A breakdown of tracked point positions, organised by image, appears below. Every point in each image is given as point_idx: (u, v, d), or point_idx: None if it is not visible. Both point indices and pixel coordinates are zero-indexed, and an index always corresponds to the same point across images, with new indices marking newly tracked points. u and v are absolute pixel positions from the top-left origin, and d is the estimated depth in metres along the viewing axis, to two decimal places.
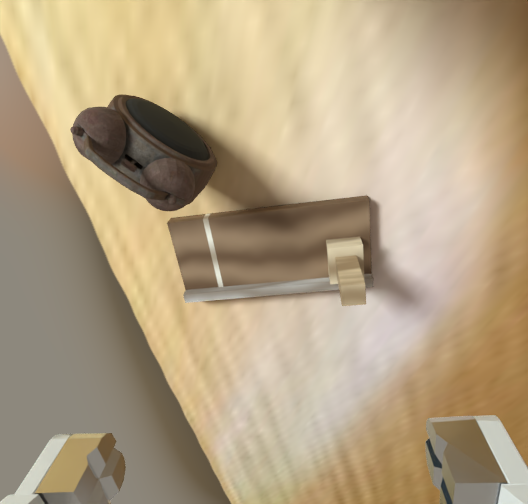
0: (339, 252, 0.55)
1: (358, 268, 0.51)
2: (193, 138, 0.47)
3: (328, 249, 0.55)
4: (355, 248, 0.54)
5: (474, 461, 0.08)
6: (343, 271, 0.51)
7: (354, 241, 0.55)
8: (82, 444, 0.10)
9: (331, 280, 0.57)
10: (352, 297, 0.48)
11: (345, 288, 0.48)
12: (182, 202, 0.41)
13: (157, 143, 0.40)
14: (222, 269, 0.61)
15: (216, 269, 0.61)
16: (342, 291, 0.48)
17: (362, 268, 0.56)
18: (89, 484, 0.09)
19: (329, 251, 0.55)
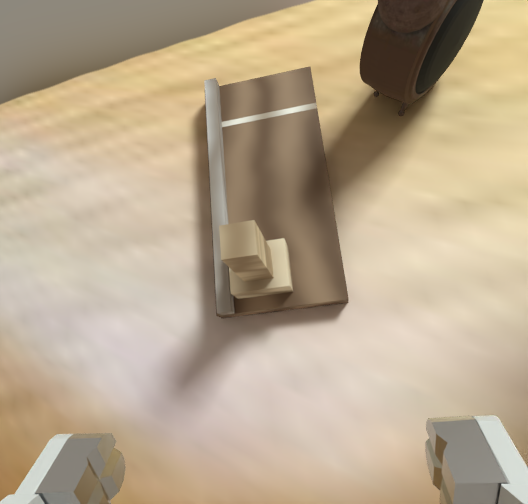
0: (278, 254, 0.39)
1: (266, 265, 0.34)
2: (437, 66, 0.39)
3: (282, 239, 0.39)
4: (283, 275, 0.38)
5: (474, 461, 0.08)
6: (263, 242, 0.35)
7: (290, 279, 0.39)
8: (82, 444, 0.10)
9: None
10: (234, 237, 0.31)
11: (249, 227, 0.31)
12: None
13: None
14: (246, 125, 0.48)
15: (246, 118, 0.48)
16: (244, 223, 0.31)
17: (252, 288, 0.38)
18: (89, 484, 0.09)
19: (279, 241, 0.39)
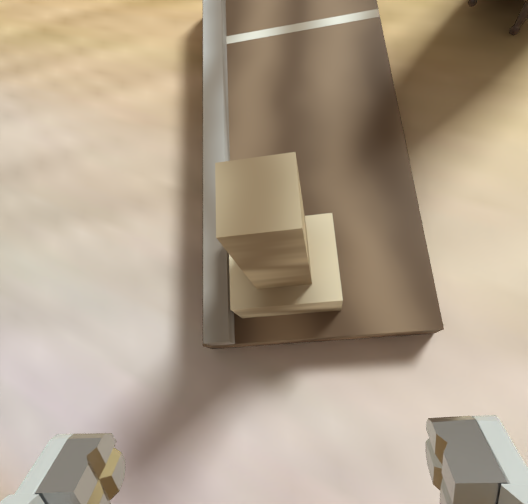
0: (320, 241, 0.21)
1: None
2: None
3: (329, 215, 0.21)
4: (331, 280, 0.20)
5: (474, 461, 0.08)
6: (303, 211, 0.17)
7: None
8: (82, 444, 0.10)
9: None
10: (249, 189, 0.14)
11: (284, 168, 0.14)
12: None
13: None
14: (265, 41, 0.30)
15: (266, 32, 0.30)
16: (273, 158, 0.14)
17: (271, 302, 0.20)
18: (89, 484, 0.09)
19: (323, 218, 0.21)
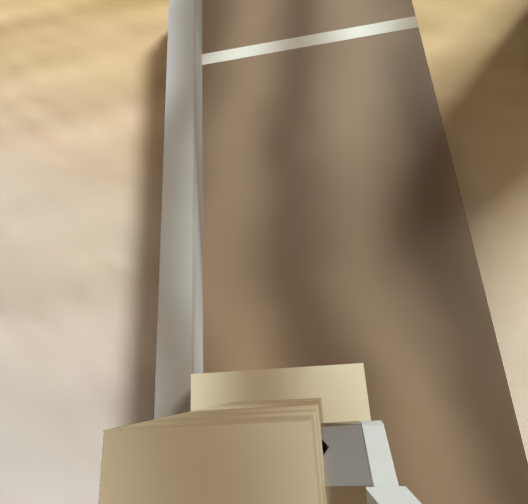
0: (345, 418, 0.12)
1: None
2: None
3: (359, 368, 0.13)
4: None
5: (348, 465, 0.08)
6: (321, 440, 0.08)
7: None
8: None
9: (209, 379, 0.13)
10: None
11: (283, 472, 0.05)
12: None
13: None
14: (256, 62, 0.21)
15: (257, 48, 0.22)
16: (253, 436, 0.05)
17: None
18: None
19: (349, 372, 0.13)
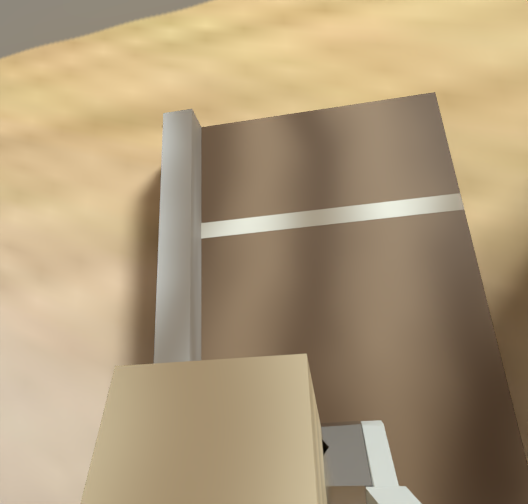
0: None
1: None
2: None
3: None
4: None
5: (348, 464, 0.08)
6: (322, 457, 0.08)
7: None
8: None
9: None
10: (178, 456, 0.05)
11: (278, 397, 0.05)
12: None
13: None
14: (266, 240, 0.18)
15: (267, 221, 0.18)
16: (252, 367, 0.06)
17: None
18: None
19: None
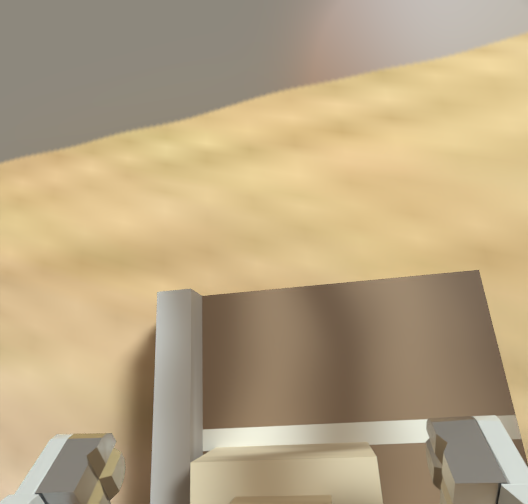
0: None
1: None
2: None
3: (372, 462, 0.12)
4: None
5: (474, 460, 0.08)
6: None
7: None
8: (82, 444, 0.10)
9: (210, 469, 0.12)
10: None
11: None
12: None
13: None
14: None
15: (281, 434, 0.15)
16: None
17: None
18: (89, 484, 0.09)
19: (361, 466, 0.12)
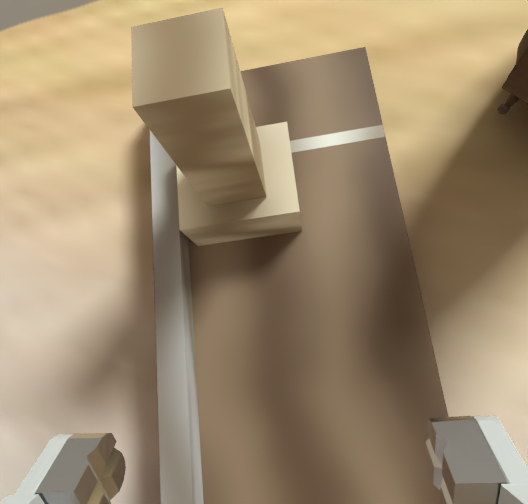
0: (275, 152, 0.19)
1: (253, 152, 0.15)
2: None
3: (284, 124, 0.20)
4: (287, 192, 0.19)
5: (474, 460, 0.08)
6: (246, 101, 0.15)
7: None
8: (82, 444, 0.10)
9: None
10: (170, 52, 0.12)
11: (210, 25, 0.12)
12: None
13: None
14: None
15: None
16: (198, 17, 0.12)
17: (223, 218, 0.19)
18: (89, 484, 0.09)
19: (278, 127, 0.20)
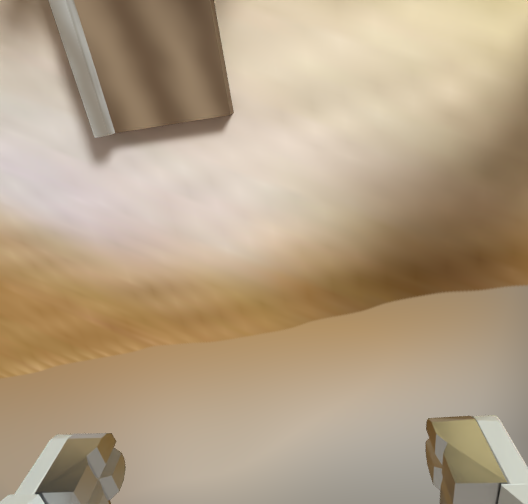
0: None
1: None
2: None
3: None
4: None
5: (474, 461, 0.08)
6: None
7: None
8: (82, 444, 0.10)
9: None
10: None
11: None
12: None
13: None
14: None
15: None
16: None
17: None
18: (89, 484, 0.09)
19: None
